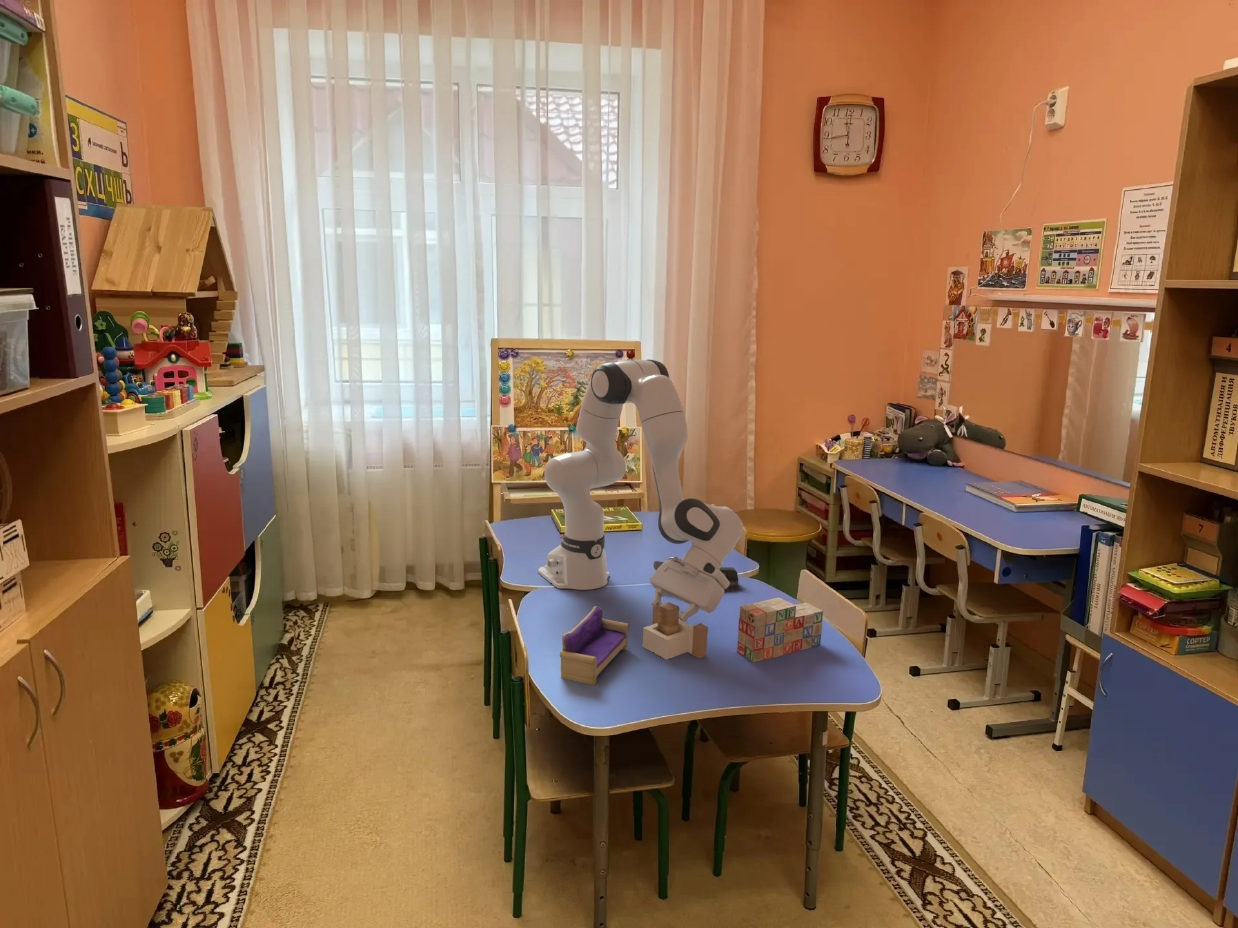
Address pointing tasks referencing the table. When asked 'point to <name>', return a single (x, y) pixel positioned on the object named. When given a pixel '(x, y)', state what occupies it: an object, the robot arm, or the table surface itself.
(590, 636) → the toy sofa
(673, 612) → the wooden block
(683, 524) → the robot arm
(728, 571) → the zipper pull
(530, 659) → the table surface
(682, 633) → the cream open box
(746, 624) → the stack of blocks
